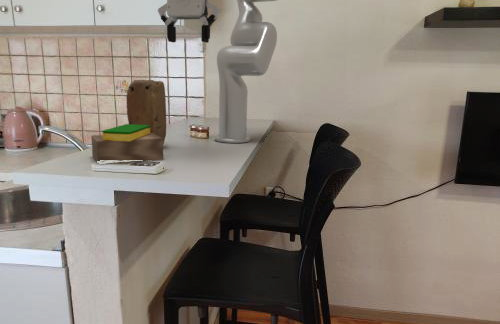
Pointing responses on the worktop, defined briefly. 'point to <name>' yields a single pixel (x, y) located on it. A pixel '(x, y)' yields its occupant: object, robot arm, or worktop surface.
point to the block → (147, 105)
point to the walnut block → (128, 148)
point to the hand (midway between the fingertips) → (188, 42)
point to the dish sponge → (126, 132)
